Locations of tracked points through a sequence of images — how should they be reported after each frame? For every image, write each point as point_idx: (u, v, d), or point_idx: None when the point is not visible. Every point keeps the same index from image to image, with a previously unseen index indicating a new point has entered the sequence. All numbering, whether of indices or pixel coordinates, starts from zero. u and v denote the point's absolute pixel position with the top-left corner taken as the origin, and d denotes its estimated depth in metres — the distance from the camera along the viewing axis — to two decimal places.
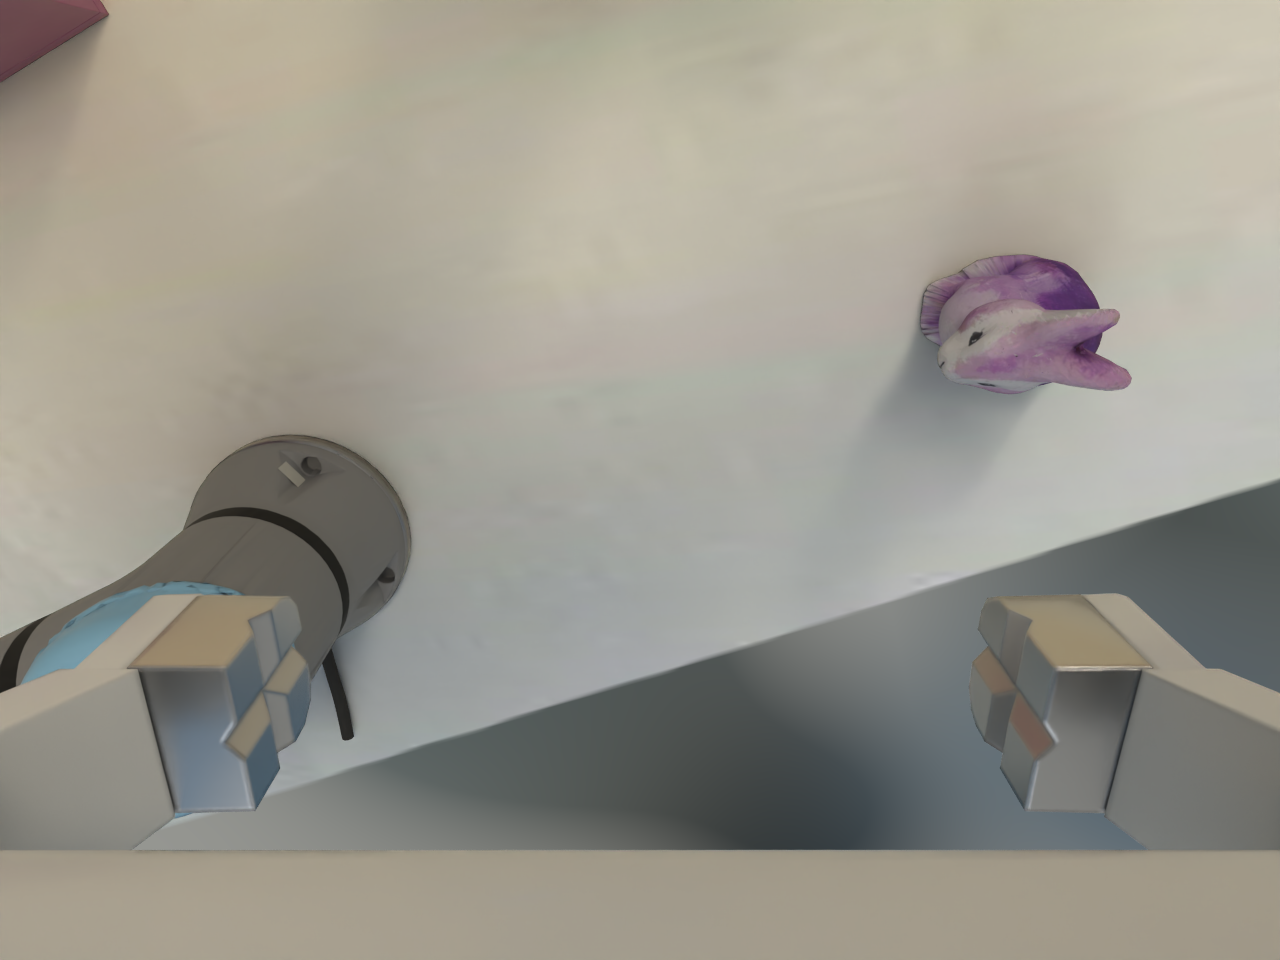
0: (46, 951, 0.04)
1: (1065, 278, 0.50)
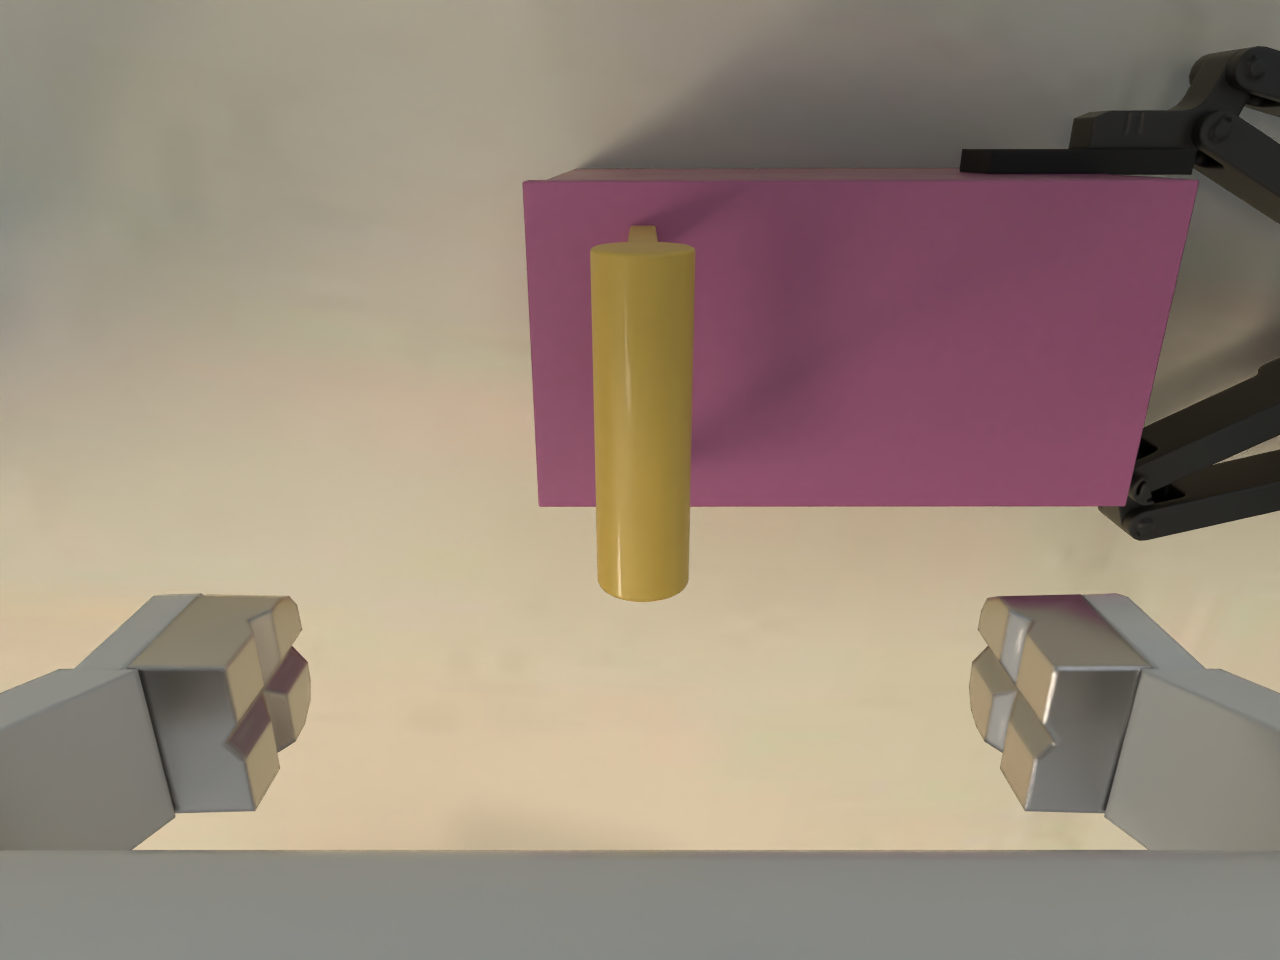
0: (46, 951, 0.04)
1: None
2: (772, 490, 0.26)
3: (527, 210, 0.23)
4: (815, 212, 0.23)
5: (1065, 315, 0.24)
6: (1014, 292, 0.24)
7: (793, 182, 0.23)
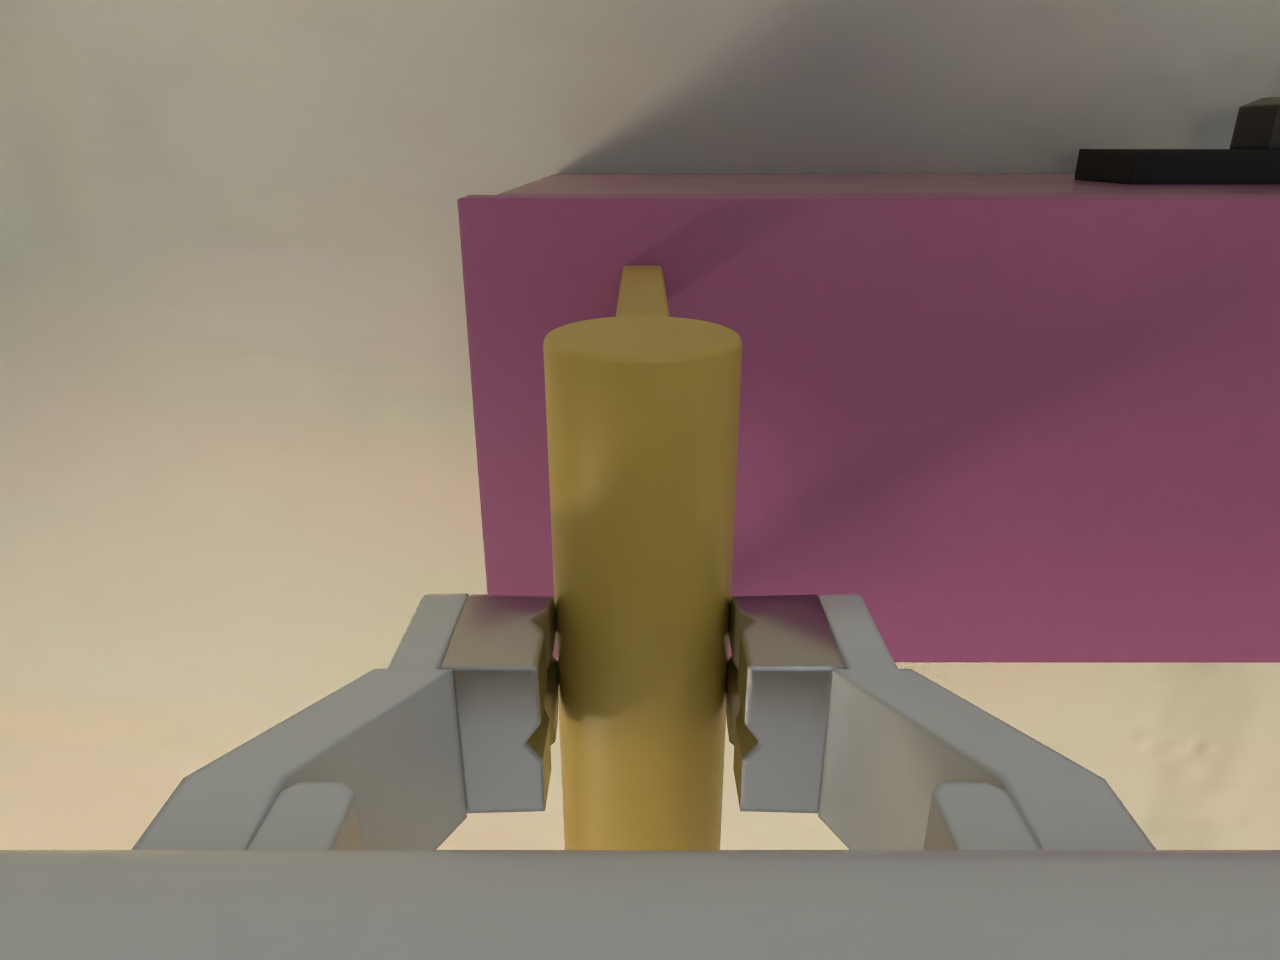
0: (46, 951, 0.04)
1: None
2: None
3: (466, 242, 0.15)
4: (906, 246, 0.15)
5: (1273, 397, 0.16)
6: (1200, 365, 0.16)
7: (874, 200, 0.15)
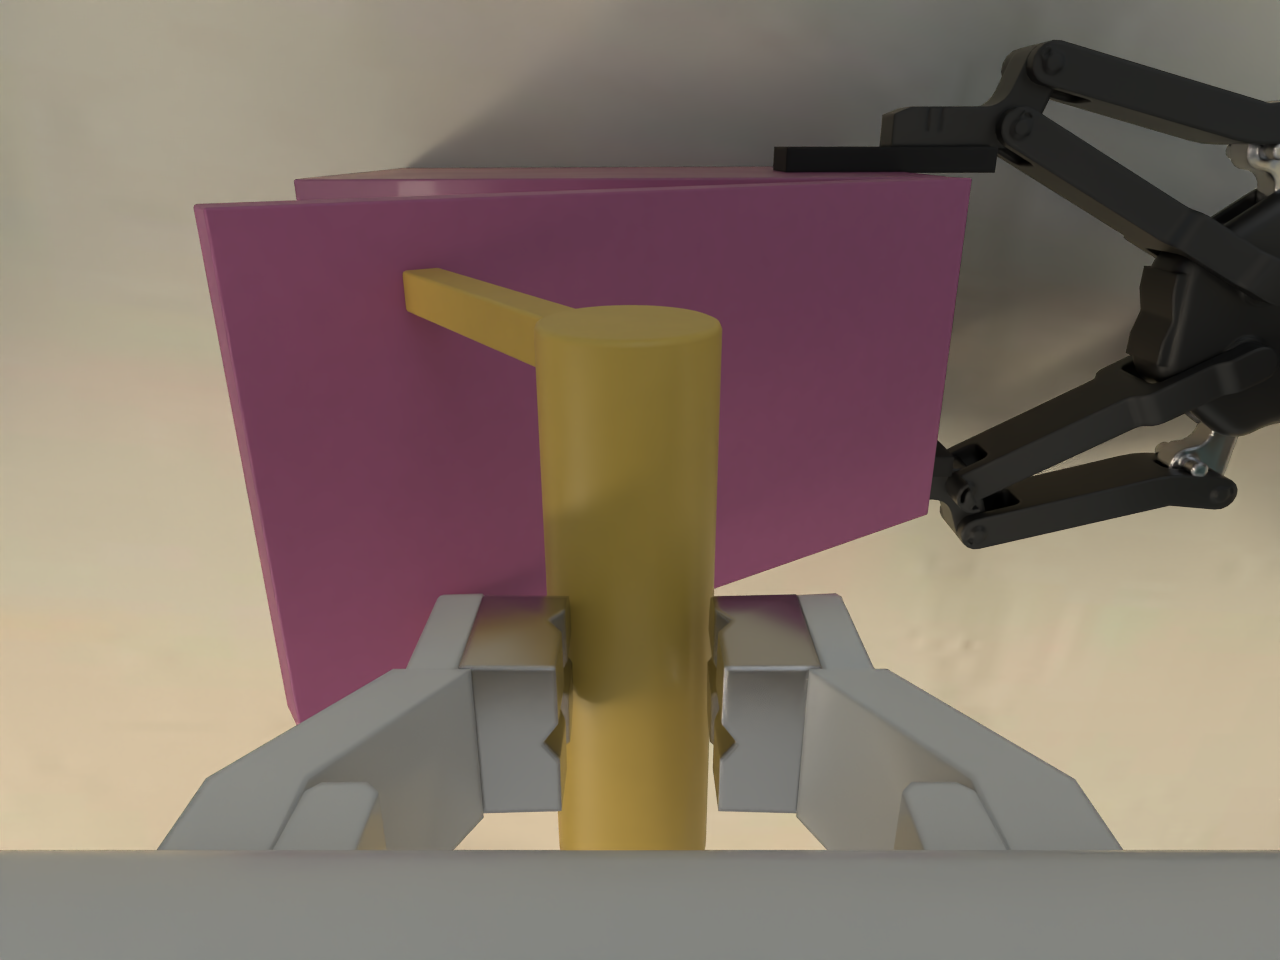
0: (46, 951, 0.04)
1: None
2: None
3: (218, 258, 0.13)
4: (645, 233, 0.17)
5: (880, 329, 0.22)
6: (840, 311, 0.21)
7: (617, 193, 0.16)
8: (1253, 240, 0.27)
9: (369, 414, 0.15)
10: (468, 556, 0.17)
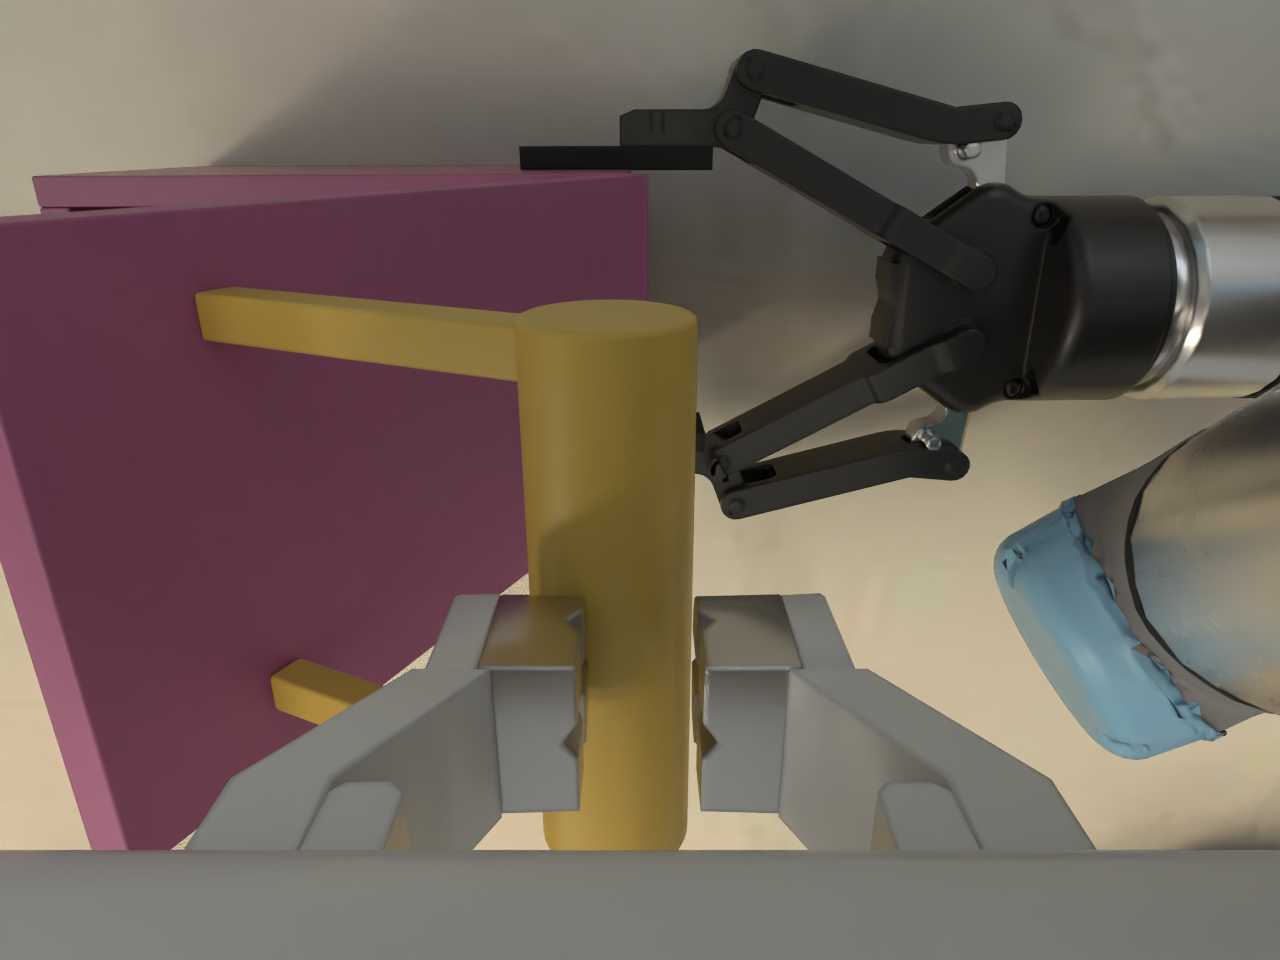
0: (46, 951, 0.04)
1: None
2: (434, 622, 0.19)
3: None
4: (419, 236, 0.16)
5: None
6: None
7: (391, 195, 0.15)
8: (957, 231, 0.30)
9: (174, 468, 0.12)
10: (292, 611, 0.15)
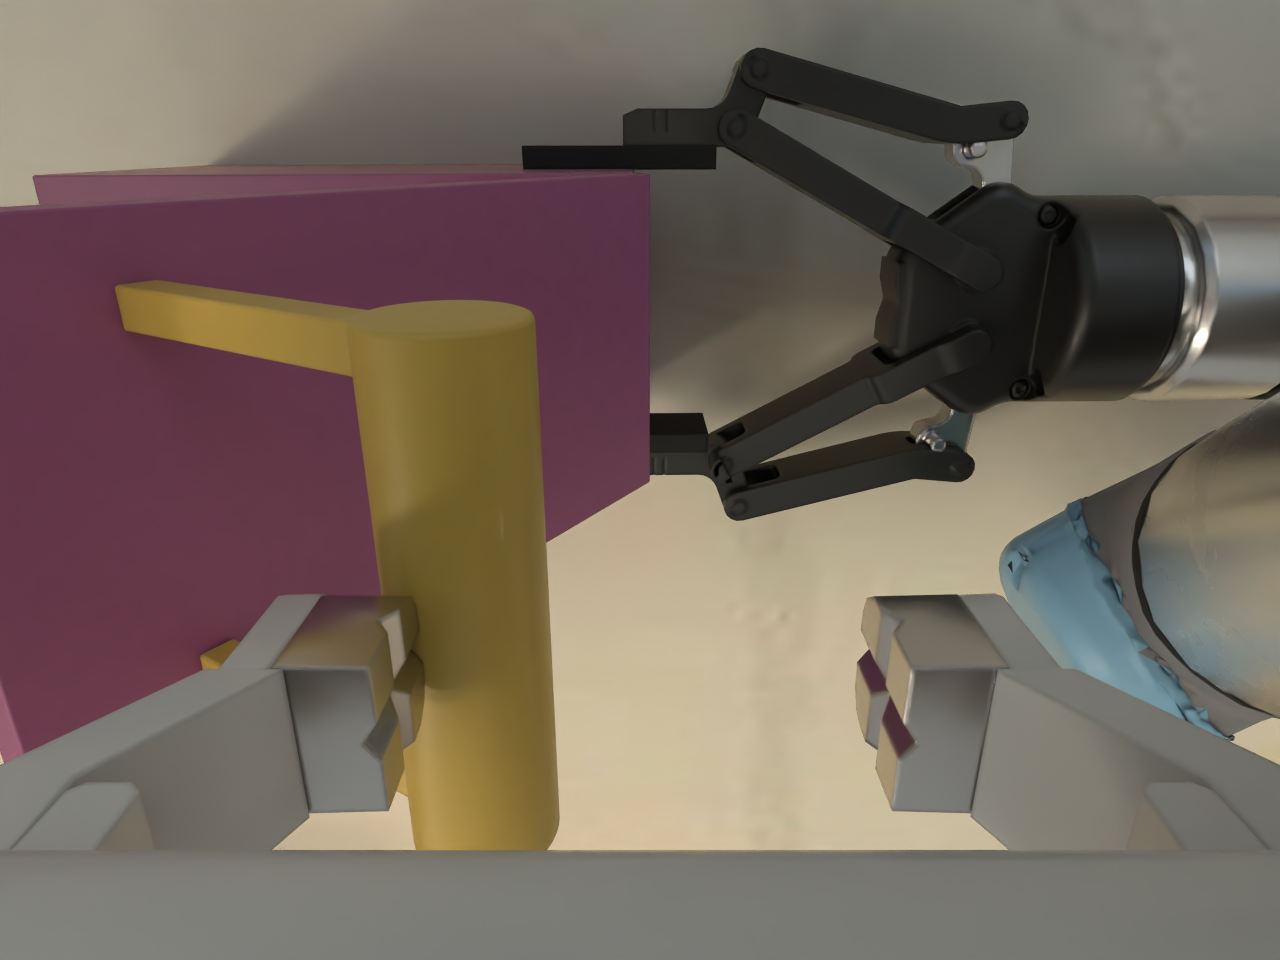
0: (46, 951, 0.04)
1: None
2: None
3: None
4: (372, 233, 0.17)
5: (593, 316, 0.23)
6: (557, 301, 0.22)
7: (339, 193, 0.16)
8: (962, 231, 0.30)
9: (93, 451, 0.13)
10: (225, 593, 0.15)
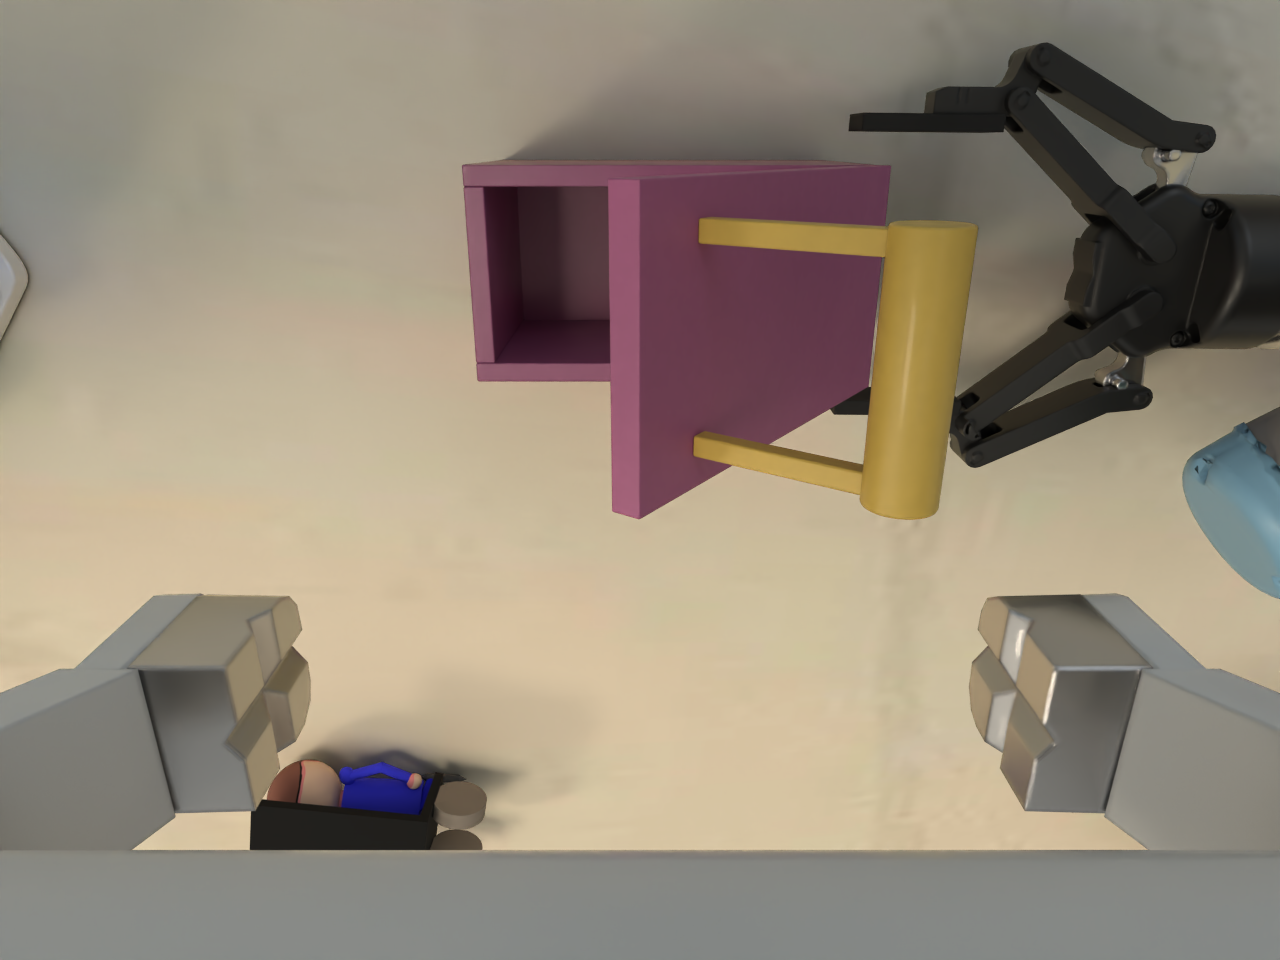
0: (46, 951, 0.04)
1: None
2: (755, 438, 0.30)
3: (640, 209, 0.22)
4: (778, 197, 0.28)
5: (856, 261, 0.34)
6: None
7: (770, 173, 0.27)
8: None
9: (680, 307, 0.24)
10: (705, 402, 0.27)
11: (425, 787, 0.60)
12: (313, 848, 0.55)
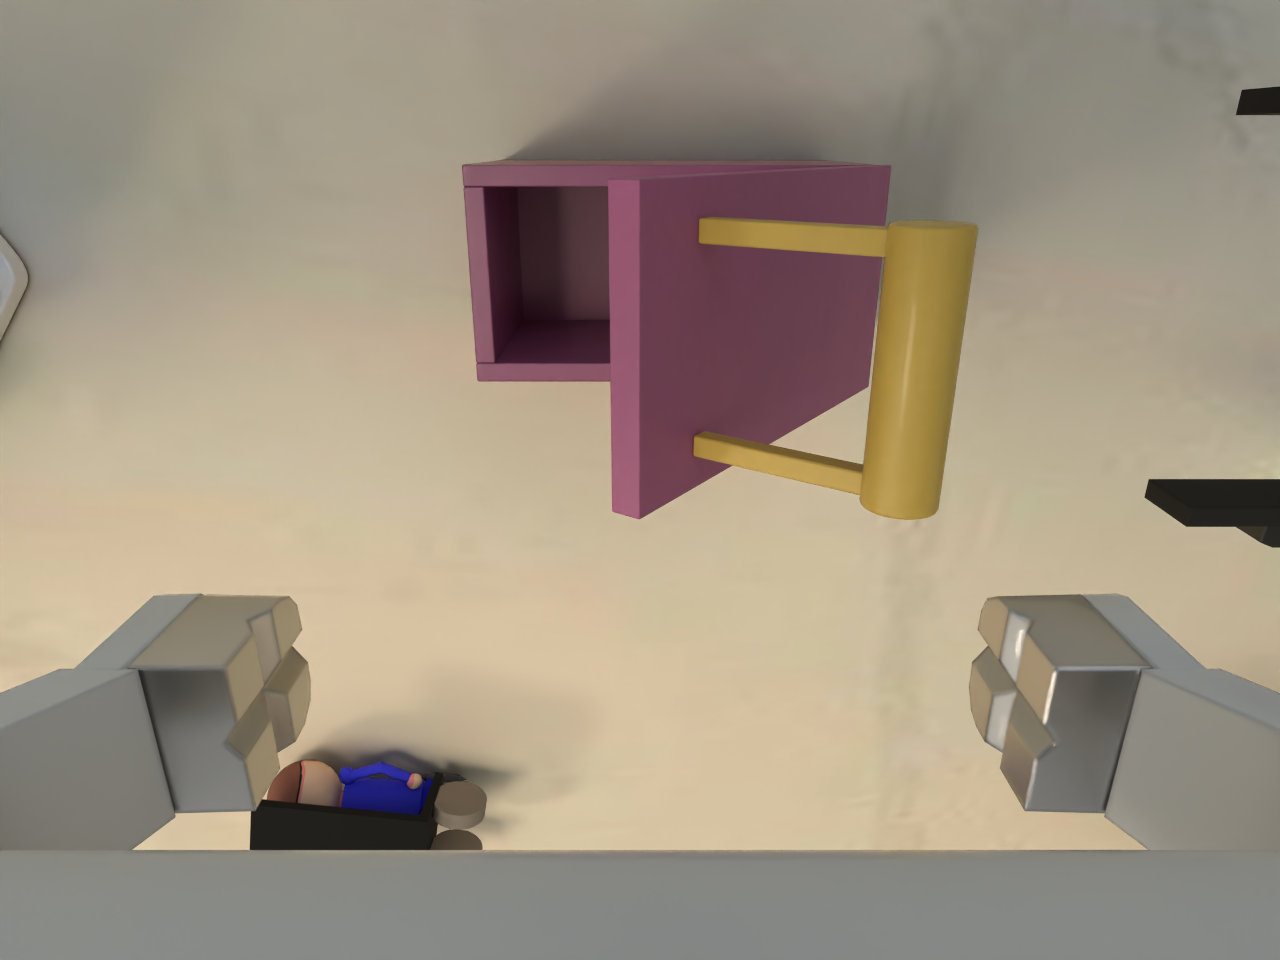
0: (46, 951, 0.04)
1: None
2: (755, 438, 0.30)
3: (640, 209, 0.22)
4: (778, 197, 0.28)
5: (856, 261, 0.34)
6: None
7: (770, 173, 0.27)
8: None
9: (680, 307, 0.24)
10: (705, 402, 0.27)
11: (425, 787, 0.60)
12: (313, 848, 0.55)
